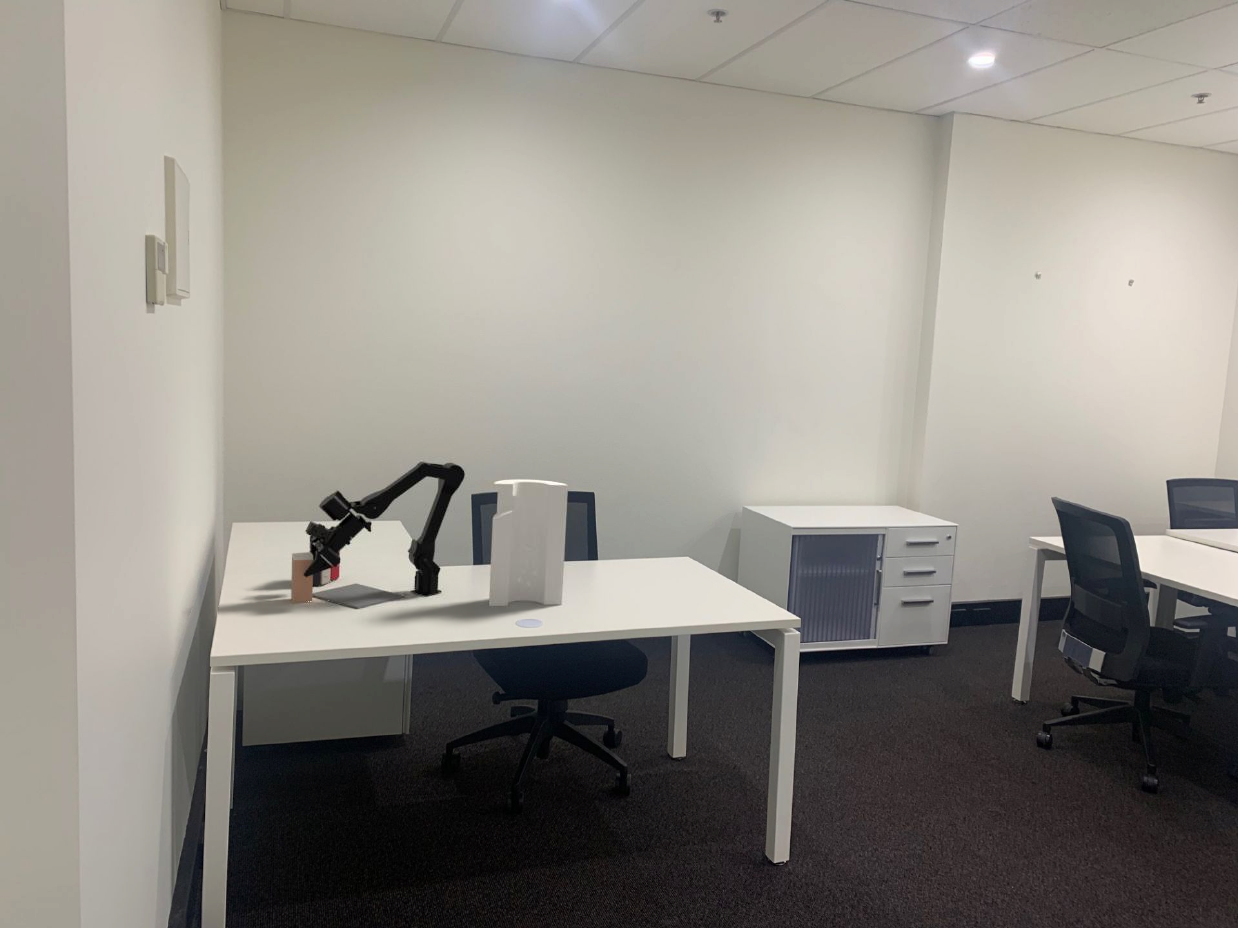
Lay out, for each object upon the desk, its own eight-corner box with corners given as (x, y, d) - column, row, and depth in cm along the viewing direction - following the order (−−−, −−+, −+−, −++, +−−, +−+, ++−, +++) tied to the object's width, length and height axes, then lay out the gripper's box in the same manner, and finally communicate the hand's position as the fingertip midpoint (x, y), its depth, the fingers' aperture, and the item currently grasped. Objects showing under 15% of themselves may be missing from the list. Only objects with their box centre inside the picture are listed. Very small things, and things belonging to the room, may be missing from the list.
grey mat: (403, 597, 254) (404, 595, 254) (357, 608, 239) (358, 607, 239) (356, 584, 264) (356, 583, 264) (309, 595, 250) (309, 593, 250)
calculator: (321, 587, 260) (322, 536, 258) (308, 585, 261) (309, 535, 259) (340, 578, 270) (341, 530, 269) (327, 577, 271) (329, 529, 270)
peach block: (310, 597, 248) (311, 552, 247) (312, 602, 244) (313, 555, 242) (291, 598, 246) (292, 552, 244) (293, 603, 241) (294, 556, 240)
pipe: (562, 605, 255) (489, 606, 249) (554, 595, 266) (484, 596, 260) (568, 485, 251) (494, 484, 245) (560, 480, 262) (489, 478, 256)
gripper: (319, 506, 253) (277, 545, 249) (329, 518, 236) (284, 559, 232) (347, 533, 257) (306, 571, 253) (358, 546, 240) (314, 587, 237)
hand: (302, 571), depth 244 cm, fingers open, 9 cm apart
